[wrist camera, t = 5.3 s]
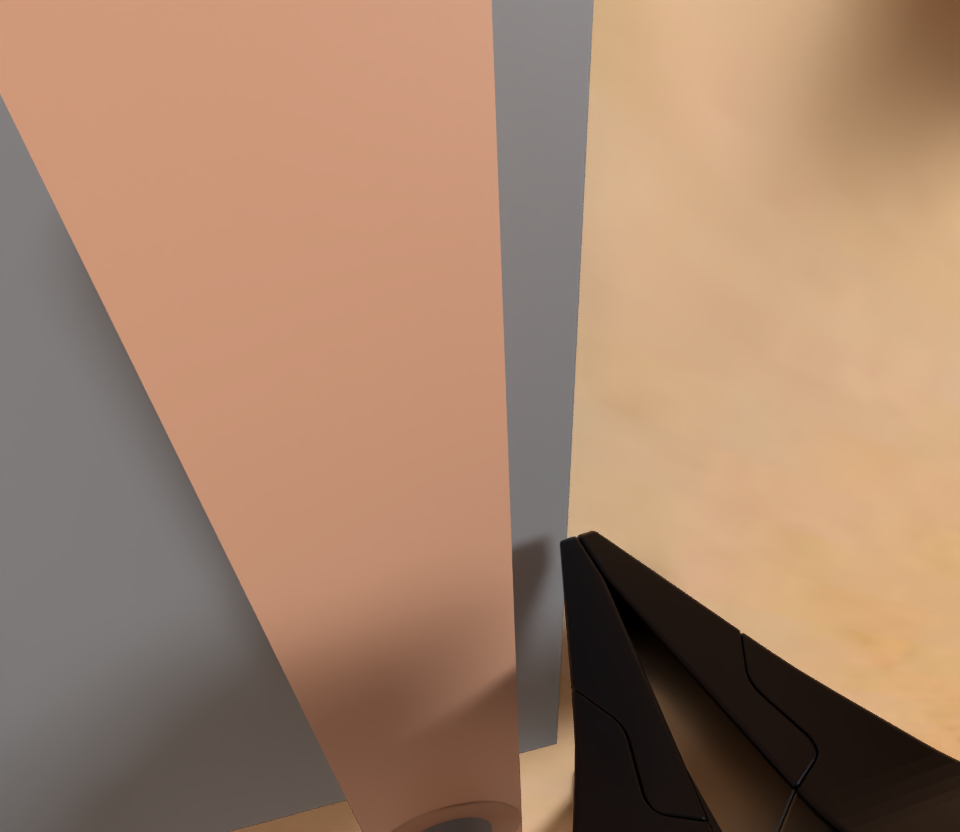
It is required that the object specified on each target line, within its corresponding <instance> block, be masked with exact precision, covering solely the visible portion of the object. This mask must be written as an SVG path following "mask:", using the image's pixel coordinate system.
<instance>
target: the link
mask: <svg viewBox="0 0 960 832" xmlns="http://www.w3.org/2000/svg"><path fill="white" fill-rule="evenodd" d="M0 94H1V97H2V99H3V101H4V103H5V105H6V107H7V109H8V111H9V113H10V115H11V117H12V119H13V121H14V123H15V125H16V127H17V129H18V131H19V133H20V135H21V137H22V139H23V141H24V143H25V145H26V147H27V149H28V152H29V154H30V156H31V158H32V160H33V162H34V164H35V166H36V168H37V170H38V172H39V174H40V176H41V178H42V180H43V182H44V184H45V186H46V188H47V190H48V192H49V194H50V196H51V198H52V200H53V202H54V204H55V207H56V209H57V211H58V213H59V215H60V217H61V219H62V221H63V223H64V225H65V227H66V229H67V231H68V233H69V235H70V237H71V239H72V241H73V243H74V245H75V247H76V249H77V251H78V253H79V255H80V257H81V259H82V262H83V264H84V266H85V268H86V270H87V272H88V274H89V276H90V278H91V280H92V282H93V284H94V286H95V288H96V290H97V292H98V294H99V296H100V298H101V300H102V302H103V304H104V306H105V308H106V310H107V312H108V314H109V316H110V319H111V321H112V323H113V325H114V327H115V329H116V331H117V333H118V335H119V337H120V339H121V341H122V343H123V345H124V347H125V349H126V351H127V353H128V355H129V357H130V359H131V361H132V363H133V365H134V367H135V369H136V371H137V374H138V376H139V378H140V380H141V382H142V384H143V386H144V388H145V390H146V392H147V394H148V396H149V398H150V400H151V402H152V404H153V406H154V408H155V410H156V412H157V414H158V416H159V418H160V420H161V422H162V424H163V426H164V429H165V431H166V433H167V435H168V437H169V439H170V441H171V443H172V445H173V447H174V449H175V451H176V453H177V455H178V457H179V459H180V461H181V463H182V465H183V467H184V469H185V471H186V473H187V475H188V477H189V479H190V481H191V484H192V486H193V488H194V490H195V492H196V494H197V496H198V498H199V500H200V502H201V504H202V506H203V508H204V510H205V512H206V514H207V516H208V518H209V520H210V522H211V524H212V526H213V528H214V530H215V532H216V534H217V536H218V539H219V541H220V543H221V545H222V547H223V549H224V551H225V553H226V555H227V557H228V559H229V561H230V563H231V565H232V567H233V569H234V571H235V573H236V575H237V577H238V579H239V581H240V583H241V585H242V587H243V589H244V591H245V594H246V596H247V598H248V600H249V602H250V604H251V606H252V608H253V610H254V612H255V614H256V616H257V618H258V620H259V622H260V624H261V626H262V628H263V630H264V632H265V634H266V636H267V638H268V640H269V642H270V644H271V646H272V649H273V651H274V653H275V655H276V657H277V659H278V661H279V663H280V665H281V667H282V669H283V671H284V673H285V675H286V677H287V679H288V681H289V683H290V685H291V687H292V689H293V691H294V693H295V695H296V697H297V699H298V701H299V704H300V706H301V708H302V710H303V712H304V714H305V716H306V718H307V720H308V722H309V724H310V726H311V728H312V730H313V732H314V734H315V736H316V738H317V740H318V742H319V744H320V746H321V748H322V750H323V752H324V754H325V756H326V759H327V761H328V763H329V765H330V767H331V769H332V771H333V773H334V775H335V777H336V779H337V781H338V783H339V785H340V787H341V789H342V791H343V793H344V795H345V797H346V799H347V801H348V803H349V805H350V807H351V809H352V811H353V814H354V816H355V818H356V820H357V822H358V824H359V826H360V828H361V830H362V832H522V815H521V788H520V761H519V734H518V706H517V679H516V652H515V624H514V597H513V570H512V543H511V515H510V488H509V461H508V433H507V406H506V379H505V352H504V324H503V297H502V270H501V243H500V215H499V188H498V161H497V133H496V106H495V79H494V52H493V24H492V0H0Z"/></svg>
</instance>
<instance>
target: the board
mask: <svg viewBox="0 0 960 832" xmlns="http://www.w3.org/2000/svg"><path fill="white" fill-rule="evenodd" d="M593 1H594V0H492V24H493V52H494V79H495V106H496V133H497V161H498V188H499V215H500V243H501V270H502V297H503V324H504V352H505V379H506V406H507V433H508V461H509V488H510V515H511V543H512V570H513V597H514V624H515V652H516V679H517V706H518V734H519V754H520V753H523V752H527V751H531V750H535V749H538V748H542V747H546V746H549V745H553V744H557V729H558V708H559V688H560V668H561V648H562V628H563V607H564V592H563V580H562V568H561V556H560V541H561V540H564V539H567V527H568V506H569V486H570V466H571V446H572V426H573V405H574V385H575V365H576V345H577V325H578V304H579V284H580V264H581V244H582V224H583V203H584V183H585V163H586V143H587V123H588V102H589V82H590V62H591V42H592V22H593ZM345 800H347V799H346V797H345V795H344V793H343V791H342V789H341V787H340V785H339V783H338V781H337V779H336V777H335V775H334V773H333V771H332V769H331V767H330V765H329V763H328V761H327V759H326V756H325V754H324V752H323V750H322V748H321V746H320V744H319V742H318V740H317V738H316V736H315V734H314V732H313V730H312V728H311V726H310V724H309V722H308V720H307V718H306V716H305V714H304V712H303V710H302V708H301V706H300V704H299V701H298V699H297V697H296V695H295V693H294V691H293V689H292V687H291V685H290V683H289V681H288V679H287V677H286V675H285V673H284V671H283V669H282V667H281V665H280V663H279V661H278V659H277V657H276V655H275V653H274V651H273V649H272V646H271V644H270V642H269V640H268V638H267V636H266V634H265V632H264V630H263V628H262V626H261V624H260V622H259V620H258V618H257V616H256V614H255V612H254V610H253V608H252V606H251V604H250V602H249V600H248V598H247V596H246V594H245V591H244V589H243V587H242V585H241V583H240V581H239V579H238V577H237V575H236V573H235V571H234V569H233V567H232V565H231V563H230V561H229V559H228V557H227V555H226V553H225V551H224V549H223V547H222V545H221V543H220V541H219V539H218V536H217V534H216V532H215V530H214V528H213V526H212V524H211V522H210V520H209V518H208V516H207V514H206V512H205V510H204V508H203V506H202V504H201V502H200V500H199V498H198V496H197V494H196V492H195V490H194V488H193V486H192V484H191V481H190V479H189V477H188V475H187V473H186V471H185V469H184V467H183V465H182V463H181V461H180V459H179V457H178V455H177V453H176V451H175V449H174V447H173V445H172V443H171V441H170V439H169V437H168V435H167V433H166V431H165V429H164V426H163V424H162V422H161V420H160V418H159V416H158V414H157V412H156V410H155V408H154V406H153V404H152V402H151V400H150V398H149V396H148V394H147V392H146V390H145V388H144V386H143V384H142V382H141V380H140V378H139V376H138V374H137V371H136V369H135V367H134V365H133V363H132V361H131V359H130V357H129V355H128V353H127V351H126V349H125V347H124V345H123V343H122V341H121V339H120V337H119V335H118V333H117V331H116V329H115V327H114V325H113V323H112V321H111V319H110V316H109V314H108V312H107V310H106V308H105V306H104V304H103V302H102V300H101V298H100V296H99V294H98V292H97V290H96V288H95V286H94V284H93V282H92V280H91V278H90V276H89V274H88V272H87V270H86V268H85V266H84V264H83V262H82V259H81V257H80V255H79V253H78V251H77V249H76V247H75V245H74V243H73V241H72V239H71V237H70V235H69V233H68V231H67V229H66V227H65V225H64V223H63V221H62V219H61V217H60V215H59V213H58V211H57V209H56V207H55V204H54V202H53V200H52V198H51V196H50V194H49V192H48V190H47V188H46V186H45V184H44V182H43V180H42V178H41V176H40V174H39V172H38V170H37V168H36V166H35V164H34V162H33V160H32V158H31V156H30V154H29V152H28V149H27V147H26V145H25V143H24V141H23V139H22V137H21V135H20V133H19V131H18V129H17V127H16V125H15V123H14V121H13V119H12V117H11V115H10V113H9V111H8V109H7V107H6V105H5V103H4V101H3V99H2V97H1V94H0V832H230V831H234V830H237V829H241V828H245V827H248V826H252V825H256V824H260V823H263V822H267V821H271V820H274V819H278V818H282V817H286V816H289V815H293V814H297V813H300V812H304V811H308V810H312V809H315V808H319V807H323V806H326V805H330V804H334V803H338V802H341V801H345Z"/></svg>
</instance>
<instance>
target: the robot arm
mask: <svg viewBox="0 0 960 832" xmlns="http://www.w3.org/2000/svg"><path fill="white" fill-rule="evenodd" d="M560 556H561V568H562V580H563V592H564V604H565V616H566V629H567V641H568V653H569V665H570V677H571V688H572V704H573V718H574V738H575V782H574V809H573V832H960V761H958V760H956V759H954V758H952V757H950V756H948V755H946V754H944V753H942V752H940V751H938V750H936V749H934V748H933V747H931V746H929V745H927V744H925V743H924V742H922V741H920V740H918V739H917V738H915V737H913V736H911V735H910V734H908V733H906V732H905V731H903V730H901V729H899V728H898V727H896V726H894V725H892V724H891V723H889V722H887V721H886V720H884V719H882V718H880V717H879V716H877V715H875V714H873V713H872V712H870V711H868V710H866V709H865V708H863V707H861V706H860V705H858V704H856V703H854V702H853V701H851V700H849V699H847V698H846V697H844V696H842V695H841V694H839V693H837V692H835V691H834V690H832V689H830V688H829V687H827V686H825V685H824V684H822V683H820V682H819V681H817V680H815V679H814V678H812V677H810V676H809V675H807V674H805V673H804V672H802V671H800V670H799V669H797V668H795V667H794V666H792V665H791V664H789V663H788V662H786V661H785V660H783V659H782V658H780V657H778V656H777V655H775V654H774V653H772V652H771V651H769V650H768V649H766V648H765V647H763V646H762V645H760V644H759V643H757V642H756V641H755V640H753V639H752V638H750V637H749V636H747V635H746V634H744V633H742V634H741V633H740V630H738V629H737V628H736V627H734V626H733V625H731V624H730V623H728V622H727V621H725V620H724V619H722V618H721V617H720V616H718V615H717V614H715V613H714V612H712V611H711V610H709V609H708V608H707V607H705V606H704V605H702V604H701V603H699V602H698V601H696V600H695V599H693V598H692V597H691V596H689V595H688V594H686V593H685V592H683V591H682V590H680V589H679V588H677V587H676V586H675V585H673V584H672V583H670V582H669V581H667V580H666V579H664V578H663V577H661V576H660V575H659V574H657V573H656V572H654V571H653V570H651V569H650V568H648V567H647V566H645V565H644V564H643V563H641V562H640V561H638V560H637V559H635V558H634V557H632V556H631V555H629V554H628V553H627V552H625V551H624V550H622V549H621V548H619V547H618V546H616V545H615V544H614V543H612V542H611V541H609V540H608V539H606V538H605V537H603V536H602V535H600V534H599V533H598V532H596V531H590V532H587V533H583V534H580V535H578V537H571V538H567V539H564V540H561V541H560Z"/></svg>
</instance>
